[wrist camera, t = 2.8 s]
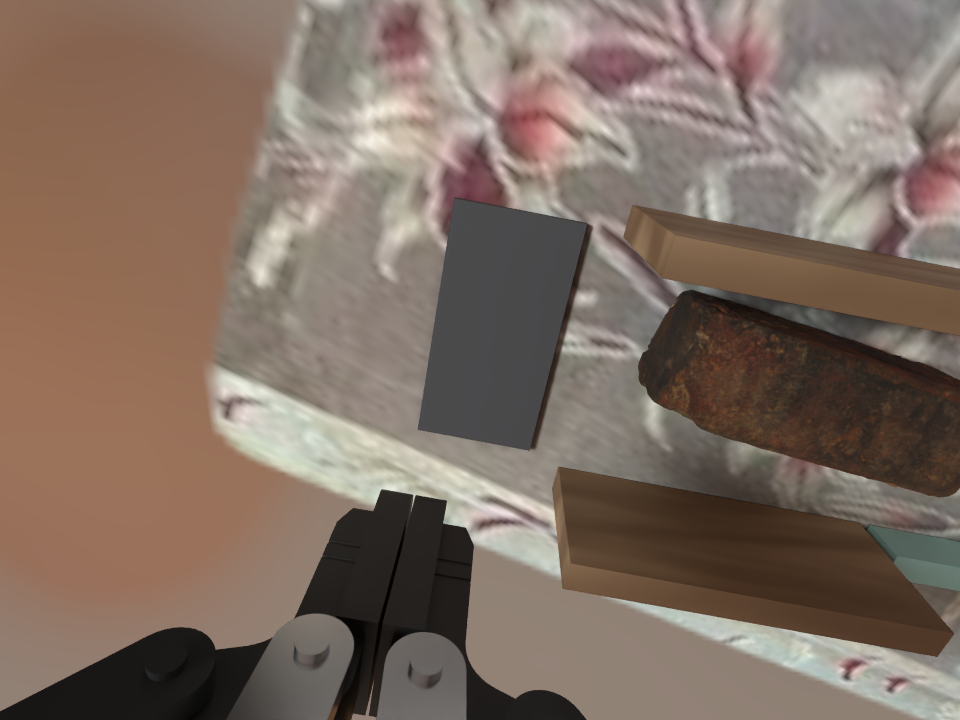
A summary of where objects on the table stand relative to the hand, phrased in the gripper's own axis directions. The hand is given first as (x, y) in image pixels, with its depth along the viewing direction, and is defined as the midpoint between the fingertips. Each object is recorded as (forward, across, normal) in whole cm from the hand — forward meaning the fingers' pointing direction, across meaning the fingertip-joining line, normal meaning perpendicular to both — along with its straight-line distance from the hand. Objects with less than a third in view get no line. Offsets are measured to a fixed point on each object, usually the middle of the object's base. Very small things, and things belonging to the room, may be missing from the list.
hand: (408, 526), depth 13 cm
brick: (+12, -10, 0) cm, 16 cm away
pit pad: (+11, -2, -1) cm, 12 cm away
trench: (+11, -13, 0) cm, 17 cm away
